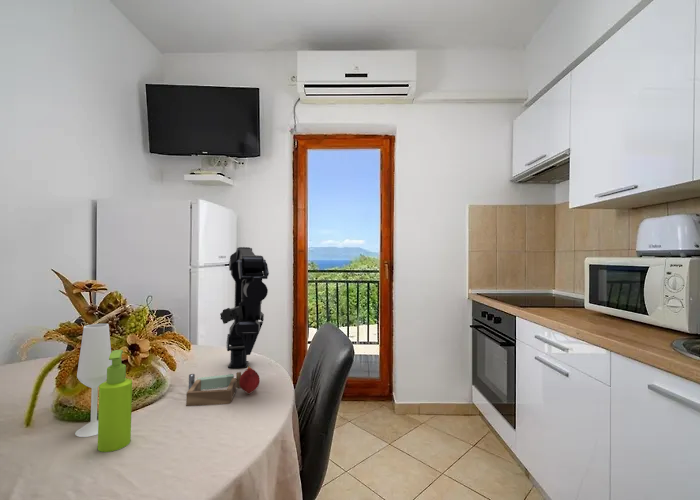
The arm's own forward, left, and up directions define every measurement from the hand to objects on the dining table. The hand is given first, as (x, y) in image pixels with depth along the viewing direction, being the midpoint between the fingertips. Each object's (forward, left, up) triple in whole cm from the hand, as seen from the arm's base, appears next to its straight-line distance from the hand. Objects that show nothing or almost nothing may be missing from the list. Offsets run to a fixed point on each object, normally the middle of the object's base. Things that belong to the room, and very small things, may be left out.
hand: (250, 350), depth 103 cm
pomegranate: (0, 0, -13) cm, 13 cm away
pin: (-5, -17, -13) cm, 22 cm away
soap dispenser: (+25, -25, -13) cm, 38 cm away
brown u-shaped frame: (+1, -10, -13) cm, 16 cm away
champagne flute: (+17, -33, -13) cm, 39 cm away
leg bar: (-6, -11, -13) cm, 18 cm away
